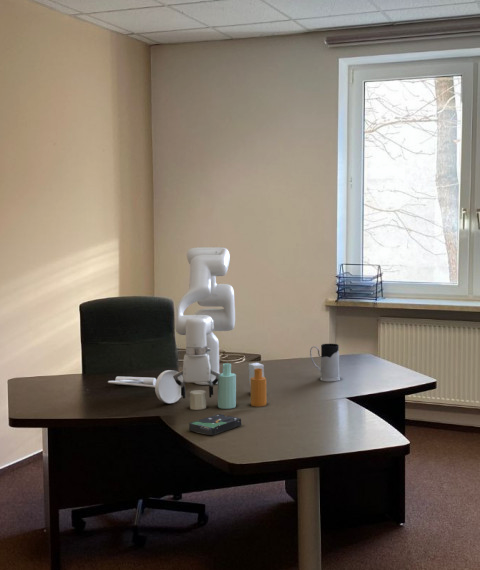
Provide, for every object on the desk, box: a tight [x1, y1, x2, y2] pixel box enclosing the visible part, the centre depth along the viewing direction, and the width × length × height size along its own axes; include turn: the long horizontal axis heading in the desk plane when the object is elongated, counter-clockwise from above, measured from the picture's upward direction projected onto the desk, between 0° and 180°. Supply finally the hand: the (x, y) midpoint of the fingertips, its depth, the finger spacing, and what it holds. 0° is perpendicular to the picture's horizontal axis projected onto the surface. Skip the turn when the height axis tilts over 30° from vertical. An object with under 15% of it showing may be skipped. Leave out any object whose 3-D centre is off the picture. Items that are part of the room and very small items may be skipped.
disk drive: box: [188, 413, 242, 436], centre depth 245 cm, size 10×3×15 cm
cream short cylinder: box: [189, 389, 207, 411], centre depth 273 cm, size 6×6×6 cm
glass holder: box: [309, 343, 341, 382], centre depth 321 cm, size 9×14×15 cm, turn 58°
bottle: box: [217, 362, 237, 410], centre depth 274 cm, size 7×7×16 cm
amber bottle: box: [249, 368, 267, 408], centre depth 276 cm, size 6×6×14 cm
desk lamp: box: [107, 369, 183, 404], centre depth 298 cm, size 12×22×45 cm
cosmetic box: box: [248, 362, 265, 394], centre depth 293 cm, size 6×4×12 cm
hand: (197, 397), depth 272 cm, fingers open, 9 cm apart
